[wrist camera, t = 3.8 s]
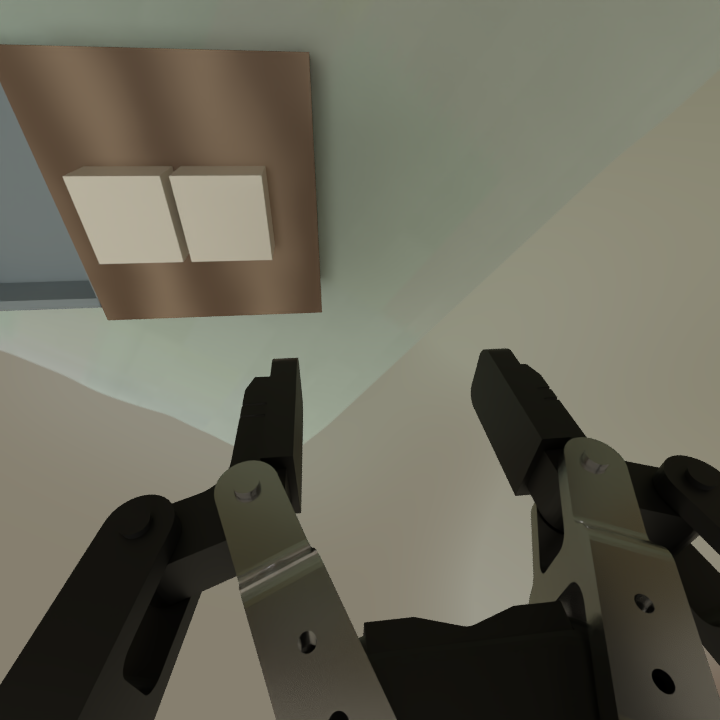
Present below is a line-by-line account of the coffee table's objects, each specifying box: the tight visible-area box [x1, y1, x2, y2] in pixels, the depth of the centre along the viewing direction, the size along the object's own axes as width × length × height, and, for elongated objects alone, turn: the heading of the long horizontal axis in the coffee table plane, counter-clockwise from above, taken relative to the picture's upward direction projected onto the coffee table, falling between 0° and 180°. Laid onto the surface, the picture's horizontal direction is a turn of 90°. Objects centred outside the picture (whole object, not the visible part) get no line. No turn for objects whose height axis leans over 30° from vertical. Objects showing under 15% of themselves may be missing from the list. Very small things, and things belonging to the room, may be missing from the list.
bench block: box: [0, 44, 322, 320], centre depth 27 cm, size 16×16×6 cm
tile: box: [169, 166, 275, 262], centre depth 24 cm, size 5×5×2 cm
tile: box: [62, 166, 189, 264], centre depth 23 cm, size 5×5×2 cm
